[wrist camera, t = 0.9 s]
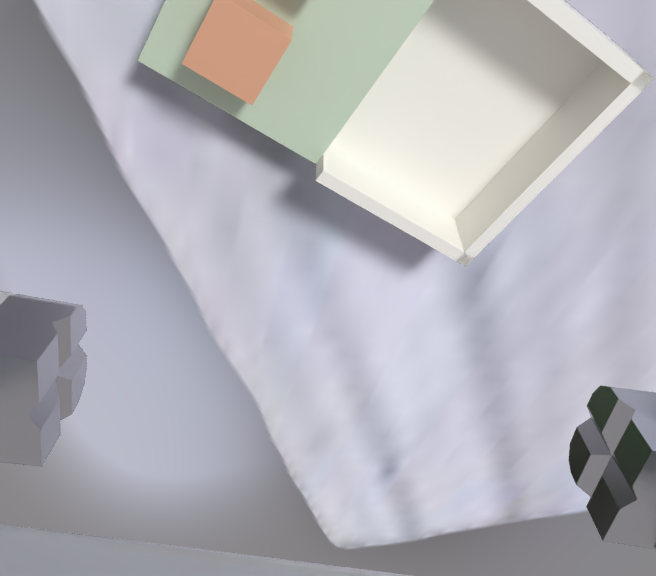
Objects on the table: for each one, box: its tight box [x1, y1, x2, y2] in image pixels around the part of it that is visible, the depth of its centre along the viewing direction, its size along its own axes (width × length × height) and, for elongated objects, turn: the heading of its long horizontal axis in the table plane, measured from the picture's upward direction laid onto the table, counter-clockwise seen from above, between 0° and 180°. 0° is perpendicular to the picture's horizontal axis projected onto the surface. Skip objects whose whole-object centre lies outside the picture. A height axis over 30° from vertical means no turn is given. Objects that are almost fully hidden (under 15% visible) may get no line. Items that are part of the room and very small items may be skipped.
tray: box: [316, 0, 654, 266], centre depth 44 cm, size 18×14×5 cm
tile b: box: [182, 0, 293, 105], centre depth 40 cm, size 5×5×2 cm
